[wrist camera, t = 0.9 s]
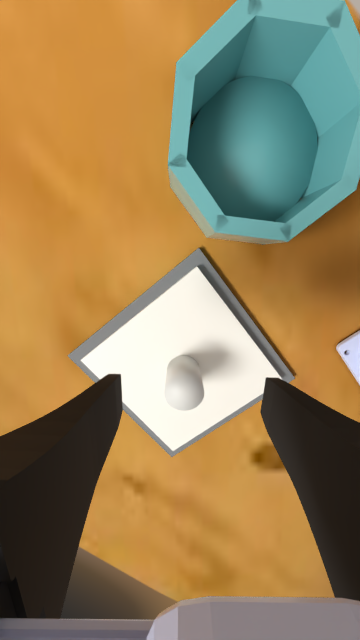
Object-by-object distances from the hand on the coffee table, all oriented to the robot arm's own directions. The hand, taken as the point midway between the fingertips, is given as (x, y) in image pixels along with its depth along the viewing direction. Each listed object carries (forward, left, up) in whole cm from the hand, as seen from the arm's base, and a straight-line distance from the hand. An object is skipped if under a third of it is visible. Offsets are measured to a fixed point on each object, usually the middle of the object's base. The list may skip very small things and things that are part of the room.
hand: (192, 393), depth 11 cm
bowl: (+8, -12, -10) cm, 17 cm away
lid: (-2, +2, -9) cm, 10 cm away
